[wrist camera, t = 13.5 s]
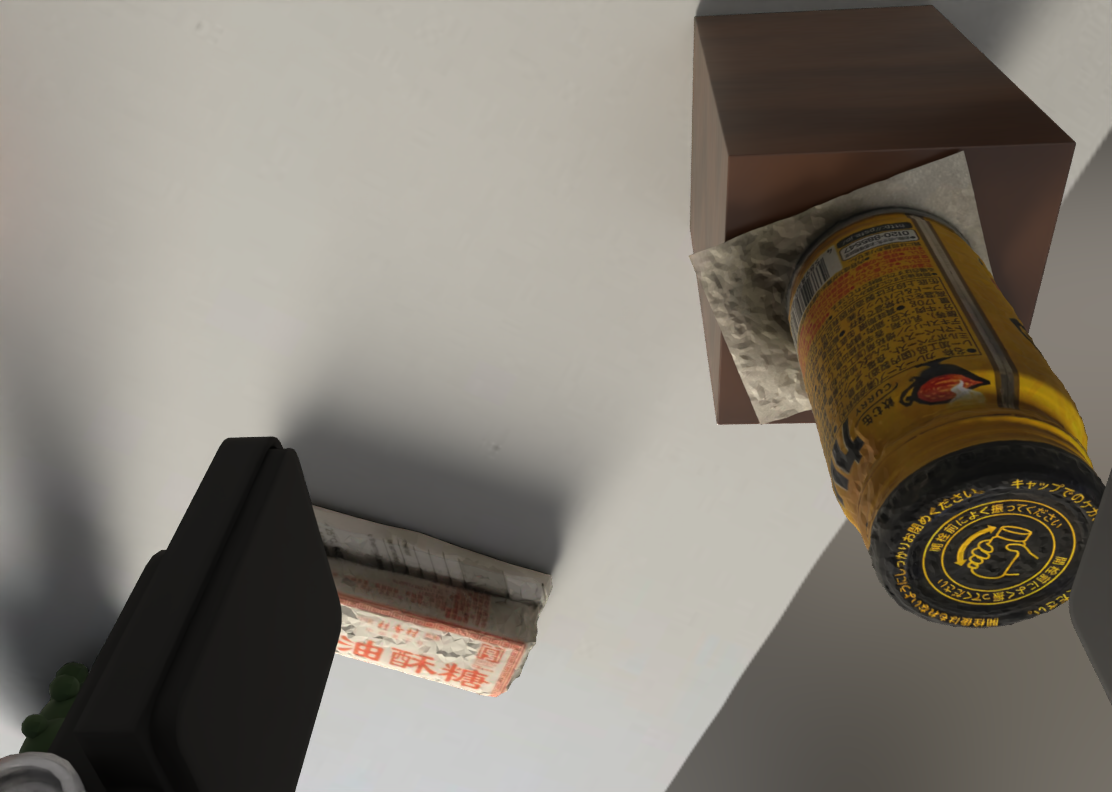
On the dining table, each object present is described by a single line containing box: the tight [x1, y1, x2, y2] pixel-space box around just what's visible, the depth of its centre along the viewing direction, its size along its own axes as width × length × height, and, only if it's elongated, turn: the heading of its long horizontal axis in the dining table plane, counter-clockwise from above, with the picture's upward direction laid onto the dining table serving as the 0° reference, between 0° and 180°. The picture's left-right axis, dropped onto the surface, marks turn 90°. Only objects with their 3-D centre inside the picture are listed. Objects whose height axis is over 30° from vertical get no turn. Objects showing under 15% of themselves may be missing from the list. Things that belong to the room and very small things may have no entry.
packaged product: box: [312, 505, 553, 697], centre depth 61 cm, size 18×5×10 cm
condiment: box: [689, 151, 1105, 628], centre depth 27 cm, size 7×8×12 cm
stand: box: [690, 5, 1076, 425], centre depth 38 cm, size 10×10×16 cm
